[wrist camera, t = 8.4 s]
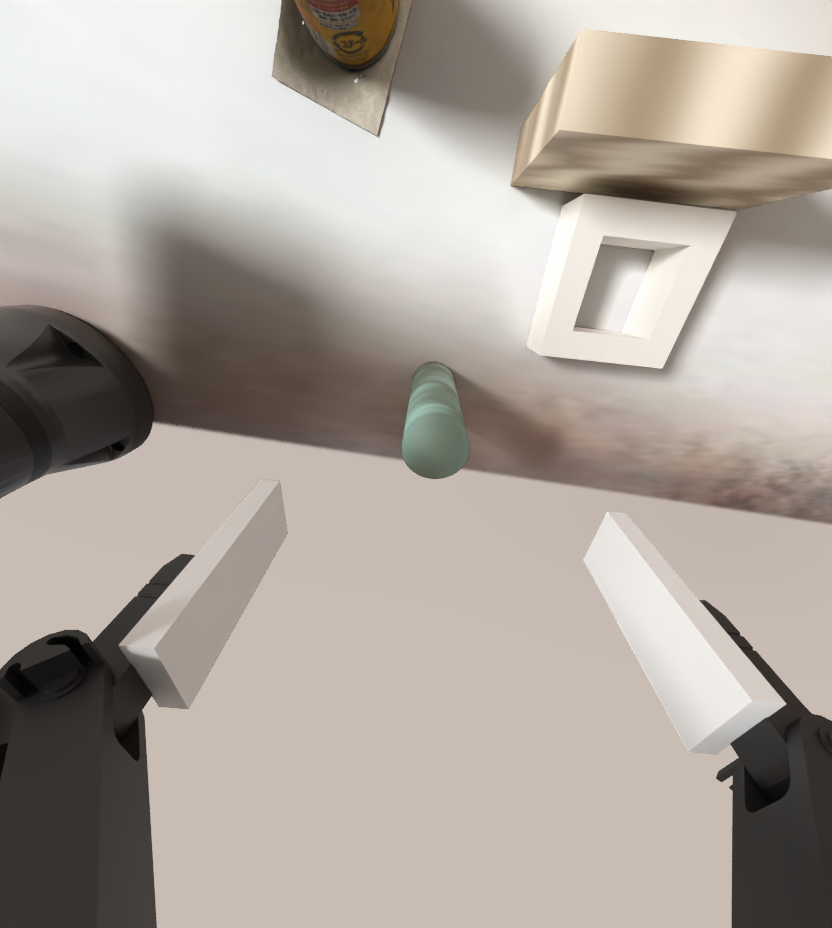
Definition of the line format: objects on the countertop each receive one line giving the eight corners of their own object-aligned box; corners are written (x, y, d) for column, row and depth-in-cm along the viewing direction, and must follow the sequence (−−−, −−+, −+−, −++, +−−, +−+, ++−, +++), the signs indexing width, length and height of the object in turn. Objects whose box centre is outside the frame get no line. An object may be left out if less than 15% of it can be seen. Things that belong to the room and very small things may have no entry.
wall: (510, 185, 23) (559, 129, 15) (521, 128, 22) (581, 28, 13) (739, 209, 23) (919, 168, 15) (765, 154, 22) (982, 73, 13)
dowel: (410, 400, 32) (399, 475, 20) (414, 359, 30) (403, 414, 18) (450, 404, 32) (464, 481, 20) (456, 363, 30) (475, 421, 18)
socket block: (525, 346, 29) (539, 355, 25) (562, 205, 24) (584, 193, 20) (634, 358, 29) (662, 368, 25) (693, 221, 24) (737, 211, 20)
